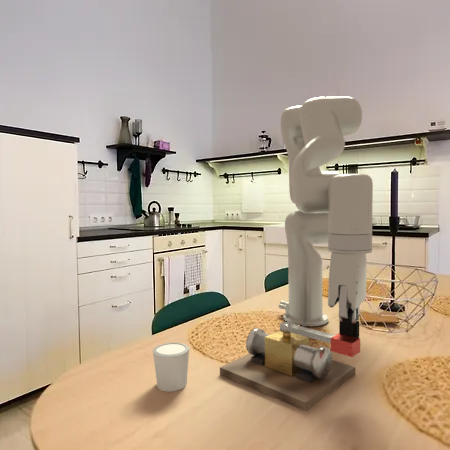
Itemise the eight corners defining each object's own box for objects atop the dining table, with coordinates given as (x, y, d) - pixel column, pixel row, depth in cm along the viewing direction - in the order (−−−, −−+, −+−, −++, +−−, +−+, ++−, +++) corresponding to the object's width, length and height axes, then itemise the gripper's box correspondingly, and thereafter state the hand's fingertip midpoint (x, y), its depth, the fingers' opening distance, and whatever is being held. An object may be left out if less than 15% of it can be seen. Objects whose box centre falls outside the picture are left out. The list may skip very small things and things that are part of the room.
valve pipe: (245, 360, 80) (245, 325, 80) (263, 351, 84) (263, 318, 84) (315, 386, 69) (315, 345, 68) (332, 374, 73) (332, 336, 72)
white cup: (195, 378, 76) (194, 344, 75) (180, 395, 69) (179, 357, 69) (164, 374, 78) (163, 340, 77) (147, 390, 71) (145, 353, 71)
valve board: (219, 374, 77) (219, 366, 77) (274, 348, 90) (273, 341, 90) (305, 411, 63) (305, 401, 63) (355, 374, 76) (355, 366, 76)
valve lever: (285, 331, 78) (285, 319, 78) (360, 352, 67) (360, 338, 67) (276, 335, 76) (276, 323, 76) (352, 357, 65) (352, 343, 65)
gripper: (339, 238, 77) (339, 327, 79) (316, 247, 65) (316, 353, 66) (379, 239, 74) (377, 333, 75) (363, 249, 61) (362, 362, 62)
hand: (349, 342), depth 70 cm, fingers closed
